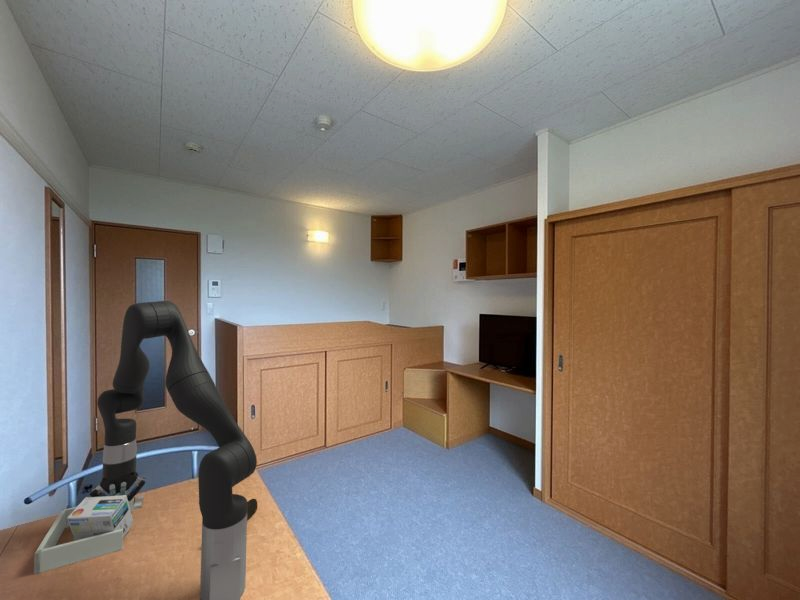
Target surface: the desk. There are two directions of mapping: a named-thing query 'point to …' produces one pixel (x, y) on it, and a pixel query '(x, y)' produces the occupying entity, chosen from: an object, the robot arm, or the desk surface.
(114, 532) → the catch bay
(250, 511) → the hand tool
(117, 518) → the light bulb box
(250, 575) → the desk surface
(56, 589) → the desk surface
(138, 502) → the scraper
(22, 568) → the desk surface
